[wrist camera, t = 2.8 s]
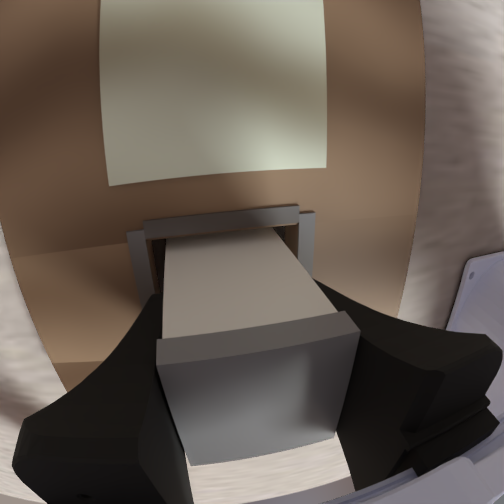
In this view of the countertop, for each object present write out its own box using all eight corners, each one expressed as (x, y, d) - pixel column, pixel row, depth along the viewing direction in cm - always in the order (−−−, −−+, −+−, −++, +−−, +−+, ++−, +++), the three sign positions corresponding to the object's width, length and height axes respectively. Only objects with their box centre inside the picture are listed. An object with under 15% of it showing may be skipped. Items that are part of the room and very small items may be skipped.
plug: (272, 311, 14) (333, 437, 8) (178, 324, 14) (190, 466, 7) (272, 222, 13) (361, 330, 6) (163, 233, 12) (156, 365, 6)
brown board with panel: (375, 328, 17) (391, 347, 15) (73, 372, 14) (67, 396, 12) (396, -8, 9) (420, -16, 8) (7, 4, 6) (-12, -6, 5)
